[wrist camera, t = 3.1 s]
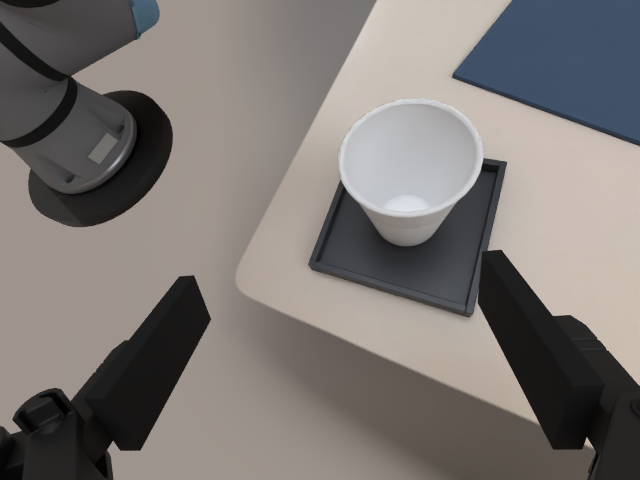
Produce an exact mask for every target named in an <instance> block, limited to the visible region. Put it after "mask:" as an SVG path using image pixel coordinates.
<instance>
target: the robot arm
mask: <svg viewBox="0 0 640 480" xmlns="http://www.w3.org/2000/svg"><path fill="white" fill-rule="evenodd" d="M159 16H160V11H159V7H158V4H157V2H156V0H0V142H1V143H3V144H4V145H6V146H8V147H9V148H11V149H13V150H14V151H15V152H16V153H17V154H18V155H19V157H20V158H21V159H22V160H23V161H24V162H25V163H26V164H27V165H28V166H29V167H30V168H31V169H32V170H33V171H34V172H35V173H36V174H37V175H38V176H39V177H40V178H41V179H42V180H43V181H44V182H45V183H46V184H47V185H48V186H50V187H52V188H54V189H56V190H57V191H59V192H61V193H63V194H66V195H72V196H77V195H84V194H88V193H91V192H94V191H96V190H98V189H100V188H102V187H103V186H105V185H107V184H108V183H109V182H111V181H112V180H113V179H114V178H116V177H117V176H118V175H119V174H120V173H121V172H122V171H123V169H124V168H125V167H126V166H127V164H128V163H129V162H130V160H131V158H132V157H133V155H134V153H135V151H136V148H137V145H138V141H139V126H138V123H137V120H136V119H135V117H134V116H133V115H132V114H131V113H130V112H129V111H128V110H126V109H125V108H124V107H123V106H122V105H120V104H119V103H117V102H115V101H113V100H111V99H109V98H107V97H105V96H103V95H101V94H99V93H97V92H95V91H93V90H91V89H89V88H87V87H85V86H83V85H81V84H80V83H78V82H77V81H76V80H74V79H73V78H72V77H71V76H72V75H74V74H75V73H77V72H79V71H80V70H82V69H84V68H86V67H88V66H89V65H91V64H93V63H94V62H96V61H98V60H100V59H102V58H104V57H105V56H107V55H109V54H111V53H112V52H114V51H116V50H118V49H119V48H121V47H123V46H125V45H127V44H128V43H130V42H132V41H134V40H137V39H139V37H140V36H141V34H143V33H144V32H145V31H147V30H148V29H150V28H151V27H153V26H154V25H155V24H156V23H157V22H158V20H159ZM478 304H479V306H480V308H481V310H482V312H483V314H484V316H485V318H486V320H487V322H488V324H489V326H490V328H491V330H492V332H493V333H494V335H495V337H496V339H497V341H498V343H499V345H500V347H501V349H502V351H503V353H504V355H505V357H506V359H507V361H508V363H509V365H510V367H511V368H512V370H513V372H514V374H515V376H516V378H517V380H518V382H519V384H520V386H521V388H522V390H523V392H524V394H525V396H526V398H527V400H528V402H529V404H530V405H531V407H532V409H533V411H534V413H535V415H536V417H537V419H538V421H539V423H540V425H541V427H542V429H543V431H544V433H545V435H546V437H547V439H548V440H549V442H550V444H551V446H552V448H553V449H554V450H556V449H557V450H560V449H561V450H562V449H563V450H564V449H583V446H584V443H585V440H586V437H587V438H588V439H589V441H590V443H591V444H592V446H593V448H594V449H595V451H596V453H595V455H594V458H593V460H592V463H591V466H590V468H589V471H588V473H589V475H588V479H587V480H640V386H639V385H638V384H637V383H636V382H635V381H634V379H633V378H632V377H631V376H630V375H629V374H628V373H627V371H626V370H625V369H624V368H623V367H622V366H621V365H620V363H619V362H618V361H617V360H616V359H615V358H614V357H613V355H612V354H611V353H610V352H609V351H607V350H606V347H605V346H604V345H603V344H602V343H601V342H600V341H599V340H597V337H596V336H595V335H594V334H593V333H592V331H591V330H590V329H589V328H588V327H587V326H586V325H585V324H583V323H582V322H580V321H579V320H577V319H575V318H574V317H572V316H571V315H564V316H552V314H551V313H550V312H549V311H548V309H547V308H546V307H545V305H544V304H543V303H542V302H541V300H540V299H539V298H538V296H537V295H536V294H535V293H534V291H533V290H532V289H531V287H530V286H529V285H528V284H527V282H526V281H525V280H524V278H523V277H522V276H521V275H520V273H519V272H518V271H517V269H516V268H515V267H514V266H513V264H512V263H511V262H510V260H509V259H508V258H507V257H506V255H505V254H504V253H503V251H502V250H493V251H482V258H481V270H480V282H479V294H478ZM210 320H211V318H210V315H209V313H208V310H207V308H206V305H205V303H204V300H203V297H202V295H201V292H200V290H199V287H198V285H197V282H196V279H195V277H194V276H181V277H179V278H178V279H177V280H176V281H175V283H174V284H173V285H172V286H171V288H170V289H169V290H168V292H167V293H166V294H165V295H164V297H163V298H162V299H161V300H160V302H159V303H158V304H157V305H156V307H155V308H154V309H153V310H152V312H151V313H150V314H149V315H148V317H147V318H146V319H145V321H144V322H143V323H142V324H141V326H140V327H139V328H138V329H137V331H136V332H135V333H134V334H133V336H132V337H131V338H130V339H129V340H126V341H124V342H122V343H121V344H120V345H118V346H117V347H116V348H115V349H113V350H112V351H111V353H110V354H109V355H108V356H107V358H106V359H105V360H104V362H103V363H102V364H101V365H100V366H99V368H97V370H96V372H95V373H93V374H92V376H91V377H90V378H89V379H88V381H87V382H86V383H85V384H84V385H83V387H82V388H81V389H80V390H79V392H78V393H77V394H76V395H75V397H74V398H73V399H72V400H71V401H69V399H68V398H67V396H66V395H65V394H64V393H63V391H62V390H61V389H58V388H53V389H48V390H45V391H42V392H40V393H38V394H36V395H35V396H33V397H31V398H30V399H29V400H27V401H26V402H25V403H24V404H23V405H22V406H21V407H20V408H19V409H18V410H17V411H16V413H15V415H14V417H13V419H12V420H13V421H14V422H15V423H16V424H17V425H18V427H19V428H20V429H21V430H22V431H20V432H17V433H14V434H10V433H9V432H8V431H7V430H6V429H5V428H4V427H1V426H0V480H113V472H112V464H111V457H110V454H109V453H108V451H107V449H108V447H109V446H110V444H111V443H112V441H114V442H115V444H116V445H117V447H118V448H119V449H120V450H121V451H129V450H130V451H136V450H138V451H140V450H141V448H142V446H143V445H144V443H145V441H146V439H147V437H148V435H149V433H150V432H151V430H152V428H153V426H154V424H155V422H156V421H157V419H158V417H159V415H160V413H161V411H162V409H163V408H164V406H165V404H166V402H167V400H168V398H169V396H170V395H171V393H172V391H173V389H174V387H175V385H176V384H177V382H178V380H179V378H180V376H181V374H182V372H183V371H184V369H185V367H186V365H187V363H188V361H189V359H190V358H191V356H192V354H193V352H194V350H195V348H196V346H197V345H198V343H199V341H200V339H201V337H202V335H203V333H204V332H205V330H206V328H207V326H208V324H209V322H210Z"/></svg>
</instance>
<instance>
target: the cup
mask: <svg viewBox="0 0 640 480" xmlns="http://www.w3.org/2000/svg"><path fill="white" fill-rule="evenodd" d="M482 163H483V145H482V142H481V138H480V135H479V133H478V131H477V130H476V128H475V126H474V124H473V123H472V122H471V121H470V120H469V119H468V118H467V117H466V116H465V115H464V114H462V113H461V112H460V111H458V110H457V109H455V108H453V107H451V106H449V105H447V104H444V103H441V102H438V101H434V100H429V99H419V98H415V99H402V100H397V101H392V102H389V103H386V104H384V105H381V106H378V107H377V108H375V109H373V110H371V111H369V112H368V113H366V114H365V115H364V116H362V117H361V118H360V119H358V120H357V121H356V123H355V124H354V125H353V126H352V127H351V128H350V129H349V131H348V132H347V134H346V135H345V137H344V139H343V141H342V144H341V147H340V149H339V156H338V170H339V174H340V178H341V181H342V183H343V185H344V187H345V188H346V190H347V192H348V193H349V194H350V195H351V196H352V197H353V198H354V199H355V200H356V201H357V202H358V203H359V204H360V205H361V207H362V208H363V210H364V211H365V213H366V214H367V216H368V217H369V218H370V220H371V221H372V223H373V224H374V226H375V227H376V229H377V230H378V232H379V233H380V235H381V236H382V237H383V238H384V239H386V240H387V241H388V242H390V243H393V244H395V245H399V246H415V245H418V244H421V243H423V242H425V241H426V240H428V239H429V238H430V237H431V236H432V235H433V234H434V233H435V231H436V230H437V229H438V227H439V226H440V224H441V223H442V222H443V220H444V219H445V217H446V216H447V215H448V213H449V212H450V211H451V209H452V208H453V206H454V205H455V204H456V203H457V201H458V200H460V199H461V198H462V197H463V196H465V195H466V193H467V192H468V191H469V190H470V189H471V187H472V186H473V185H474V183H475V181H476V180H477V178H478V176H479V174H480V171H481V167H482Z"/></svg>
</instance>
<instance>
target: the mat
mask: <svg viewBox="0 0 640 480" xmlns="http://www.w3.org/2000/svg"><path fill="white" fill-rule="evenodd" d="M453 78H456V79H459V80H461V81H464V82H467V83H470V84H472V85H475V86H478V87H481V88H483V89H486V90H489V91H492V92H494V93H497V94H500V95H503V96H505V97H508V98H511V99H514V100H516V101H519V102H522V103H525V104H527V105H530V106H533V107H536V108H538V109H541V110H544V111H547V112H549V113H552V114H555V115H558V116H560V117H563V118H566V119H569V120H571V121H574V122H577V123H580V124H582V125H585V126H588V127H591V128H593V129H596V130H599V131H602V132H605V133H607V134H610V135H613V136H616V137H618V138H621V139H624V140H627V141H629V142H632V143H635V144H638V145H640V0H512V2H511V3H510V4H509V5H508V7H507V8H506V9H505V10H504V12H503V13H502V14H501V15H500V16H499V18H498V19H497V20H496V21H495V23H494V24H493V25H492V26H491V28H490V29H489V30H488V31H487V33H486V34H485V35H484V36H483V37H482V39H481V40H480V41H479V42H478V44H477V45H476V46H475V47H474V49H473V50H472V51H471V52H470V54H469V55H468V56H467V57H466V58H465V60H464V61H463V62H462V63H461V65H460V66H459V67H458V68H457V70H456V71H455V72H454V73H453Z"/></svg>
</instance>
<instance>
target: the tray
mask: <svg viewBox="0 0 640 480" xmlns="http://www.w3.org/2000/svg"><path fill="white" fill-rule="evenodd" d="M506 165H507V162H504V161H498V160H492V159H485V158H483V163H482V167H481V171H480V174H479V176H478V178H477V180H476V181H475V183H474V185H473V186H472V187H471V189H470V190H469V191H468V192H467V193H466V195H465V196H463V197H462V198H461V199H460V200H458V201H457V203H456V204H455V205H454V206H453V208H452V209H451V211H450V212H449V213H448V215H447V216H446V217H445V219H444V220H443V222H442V223H441V224H440V226H439V227H438V229H437V230H436V231H435V233H434V234H433V235H432V236H431V237H430V238H429V239H428V240H426V241H425V242H423V243H421V244H418V245H415V246H399V245H395V244H393V243H390V242H388V241H387V240H386V239H384V238H383V237H382V236H381V235H380V233H379V232H378V230H377V229H376V227H375V226H374V224H373V223H372V221H371V220H370V218H369V217H368V216H367V214H366V213H365V211H364V210H363V208H362V207H361V205H360V204H359V203H358V202H357V201H356V200H355V199H354V198H353V197H352V196H351V195H350V194H349V193H348V192H347V190H346V188H345V187H344V185H343V183H342V181H341V180H340V183H339V185H338V188H337V191H336V193H335V196H334V198H333V201H332V204H331V206H330V209H329V211H328V214H327V217H326V219H325V222H324V224H323V227H322V230H321V232H320V235H319V237H318V240H317V243H316V245H315V248H314V250H313V253H312V256H311V258H310V261H309V263H308V265H309V266H310V268H311V269H312V270H316V271H319V272H322V273H325V274H329V275H332V276H335V277H339V278H342V279H345V280H348V281H352V282H355V283H358V284H362V285H365V286H368V287H371V288H375V289H378V290H381V291H385V292H388V293H391V294H394V295H398V296H401V297H404V298H407V299H411V300H414V301H417V302H421V303H424V304H427V305H430V306H434V307H437V308H440V309H444V310H447V311H450V312H453V313H457V314H460V315H463V316H467V317H470V316H471V315H472V314H473V311H474V306H475V302H476V298H477V293H478V289H479V282H480V270H481V258H482V251H487V249H488V245H489V240H490V236H491V231H492V227H493V222H494V218H495V214H496V209H497V205H498V200H499V196H500V192H501V187H502V183H503V178H504V174H505V169H506Z"/></svg>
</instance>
